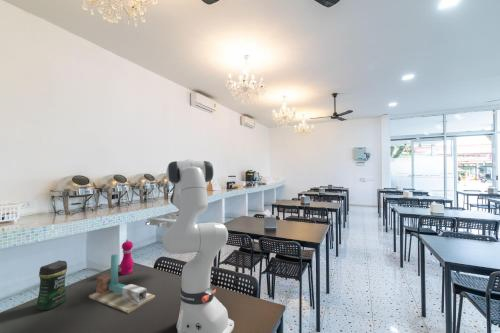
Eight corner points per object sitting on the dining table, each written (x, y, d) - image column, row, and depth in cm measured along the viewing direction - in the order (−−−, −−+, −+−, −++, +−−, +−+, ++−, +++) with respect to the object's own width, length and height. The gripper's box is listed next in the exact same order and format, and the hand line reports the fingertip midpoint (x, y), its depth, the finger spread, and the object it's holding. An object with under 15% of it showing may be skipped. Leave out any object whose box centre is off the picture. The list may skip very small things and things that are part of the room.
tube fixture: (154, 297, 110) (155, 280, 110) (128, 313, 97) (128, 293, 98) (116, 285, 122) (117, 269, 123) (88, 297, 110) (89, 280, 110)
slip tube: (133, 293, 109) (134, 258, 109) (127, 296, 106) (128, 260, 107) (110, 285, 116) (111, 252, 117) (104, 288, 113) (105, 254, 114)
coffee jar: (47, 312, 98) (49, 267, 98) (32, 310, 99) (34, 266, 100) (69, 300, 107) (71, 259, 108) (55, 298, 109) (57, 258, 109)
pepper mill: (135, 270, 141) (136, 237, 142) (128, 275, 134) (129, 240, 135) (124, 269, 142) (125, 237, 143) (116, 274, 135) (118, 240, 136)
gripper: (158, 213, 141) (139, 216, 129) (184, 216, 132) (166, 220, 120) (158, 223, 141) (138, 228, 128) (184, 227, 132) (166, 232, 119)
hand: (152, 224), depth 124 cm, fingers open, 8 cm apart
